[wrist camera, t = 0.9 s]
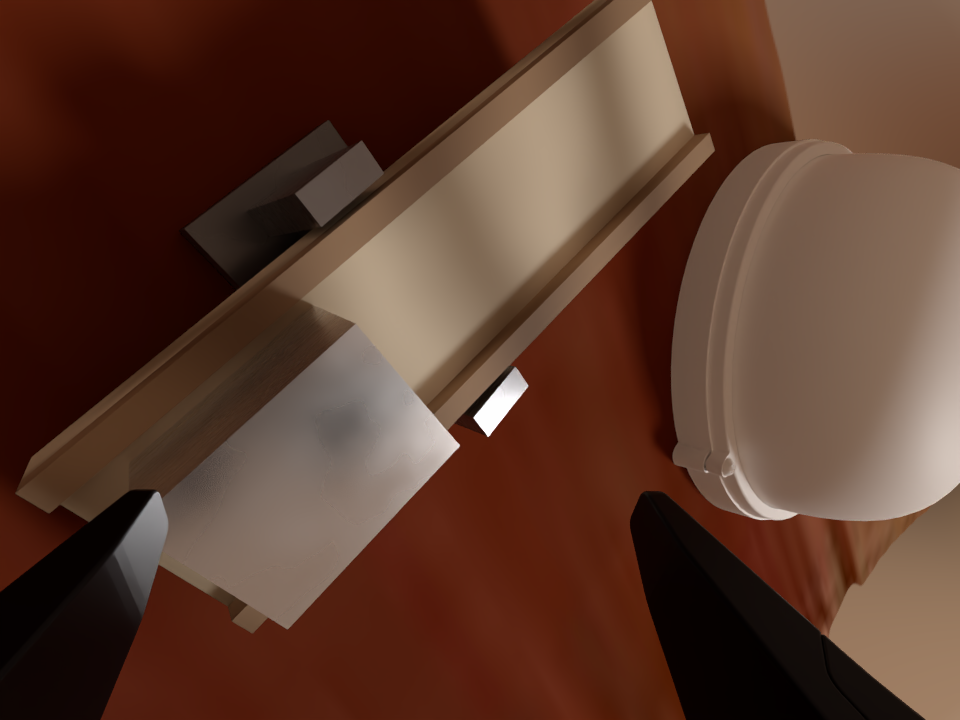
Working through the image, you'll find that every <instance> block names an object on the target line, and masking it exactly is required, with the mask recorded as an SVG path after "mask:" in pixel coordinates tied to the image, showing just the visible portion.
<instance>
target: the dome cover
mask: <svg viewBox="0 0 960 720" xmlns="http://www.w3.org/2000/svg"><path fill="white" fill-rule="evenodd" d="M671 392H672V407H673V415H674V423H675V429H676V434H677V439H678V443H677V445H676V446H675V448H674V451H673V456H672V458H673V462H674V464H675V465H678V466H681V467H685V468H687V470H688V473H689V475H690V477H691V478H692V480H693V482H694V484H695V486H696V487H697V488H698V490H699V491H700V493H701V494H702V495H703V496H704V497H705V498H706V499H707V500H708V501H709V502H711V503H712V504H713V505H715V506H717V507H719V508H721V509H723V510H727V511H730V512H733V513H737V514H740V515H744V516H747V517H751V518H754V519H759V520H769V519H771V520H784V519H787V518H791V517H793V516H795V515H797V514H803V515H809V516H814V517H820V518H828V519H836V520H851V521H873V520H886V519H892V518H897V517H902V516H905V515H908V514H911V513H914V512H917V511H920V510H922V509H924V508H926V507H928V506H930V505H932V504H934V503H936V502H937V501H938V500H940V499H941V498H943V497H944V496H945V495H947V494H948V493H949V492H951V491H952V490H953V489H954V488H955V487H956V486H957V485H958V483H960V169H958V168H955V167H953V166H950V165H948V164H945V163H943V162H939V161H935V160H931V159H927V158H922V157H915V156H908V155H899V154H880V153H879V154H878V153H856V154H854V153H852V152H851V151H850V150H849V149H848V148H846V147H845V146H843V145H841V144H838V143H836V142H828V141H823V140H819V139H808V140H799V141H790V142H782V143H774V144H769V145H766V146H763V147H761V148H759V149H757V150H755V151H754V152H752V153H751V154H749V155H748V156H747V157H745V158H744V159H743V160H742V161H741V162H740V163H739V164H738V165H737V166H736V167H735V168H734V169H733V171H732V172H731V173H730V174H729V175H728V177H727V178H726V179H725V181H724V182H723V184H722V185H721V187H720V188H719V190H718V191H717V193H716V195H715V197H714V198H713V200H712V202H711V204H710V205H709V207H708V210H707V212H706V214H705V216H704V218H703V220H702V222H701V225H700V227H699V230H698V232H697V235H696V237H695V240H694V243H693V246H692V249H691V252H690V255H689V258H688V261H687V265H686V269H685V272H684V276H683V280H682V284H681V289H680V294H679V299H678V303H677V310H676V316H675V323H674V332H673V342H672V358H671Z"/></svg>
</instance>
